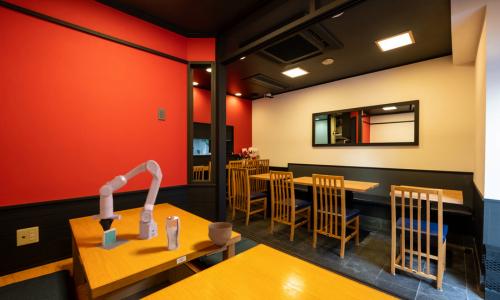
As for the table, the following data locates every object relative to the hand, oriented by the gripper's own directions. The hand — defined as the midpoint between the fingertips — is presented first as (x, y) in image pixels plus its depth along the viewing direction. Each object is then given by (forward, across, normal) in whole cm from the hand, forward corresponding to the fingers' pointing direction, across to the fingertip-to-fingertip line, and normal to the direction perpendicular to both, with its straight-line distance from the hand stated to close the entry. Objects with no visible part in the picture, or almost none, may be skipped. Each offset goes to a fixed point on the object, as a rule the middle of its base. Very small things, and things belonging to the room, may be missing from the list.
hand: (106, 232), depth 112 cm
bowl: (+6, -61, 0) cm, 62 cm away
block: (+5, -2, +1) cm, 6 cm away
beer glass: (+6, -38, +4) cm, 39 cm away
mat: (+6, -4, 0) cm, 7 cm away
